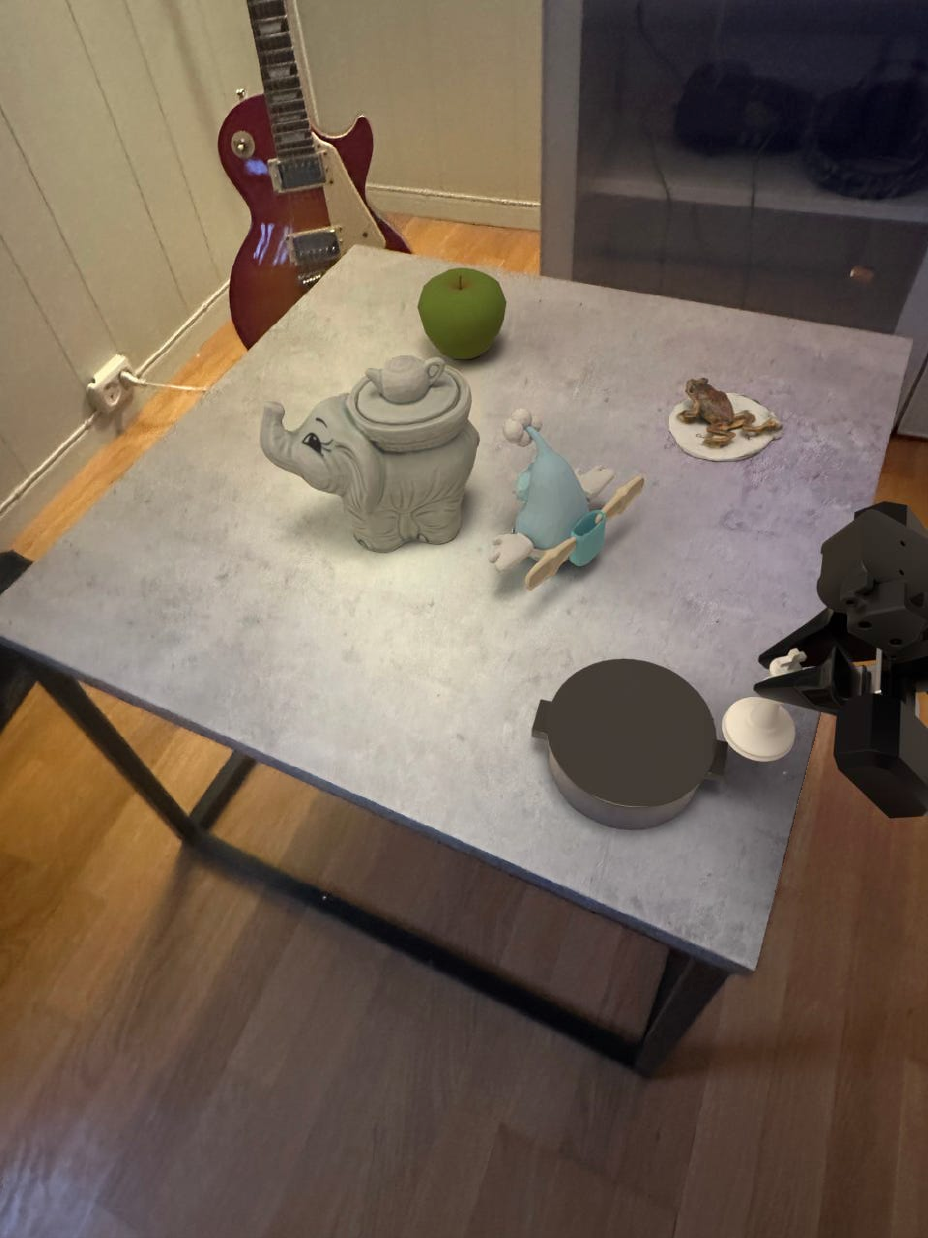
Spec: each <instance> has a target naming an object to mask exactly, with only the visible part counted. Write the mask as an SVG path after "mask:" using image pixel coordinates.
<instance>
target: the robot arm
mask: <svg viewBox="0 0 928 1238" xmlns="http://www.w3.org/2000/svg"><path fill="white" fill-rule="evenodd" d="M820 554H821V555H822V557H821V565H820V574H819V577H818V579H817V580H816V587H815V588H816V594H817V596H818V598H819V600H820V601H821V603H822V604H823V605H824V606H825V608H824V609H823V610H821V611H820V612H819V613H818V614H816V615H815V616H813V617H812V618H811V619H810V620H809V621H807V622H806V623H805V624H803V625H802V626H800V627H798V628H797V629H796V630H793V631H792V632H791V633H790V634H788V635H787V636H784V637H783V638H782V639H781V640H779V641H778V642H777V643H775V644H774V645H772V646H771V647H769V648H767V649H766V650H765V651H763V652H761V653H760V654H759V655H758V657H757V662H758V663H759V664H760V665H761V667H763V668H764V669H766V670H770V664H771V662H772V661H773V660H775V659H776V658H779V657H785V656H788V654H789V651H790V650H792V649H795V648H797V649H798V651H799V652H802V651H803V652H804V653H805V655H806V656H807V658H806V659H805V661H802V662H798V663H799V664H800V665H801V666H802V668H803V670H799V671H795V672H791V673H787V674H783V675H779V676H775V677H772V678H769V679H766V680H764V679H762V680H761V681H759V682H756V683H754V684H753V687H752V689H753V691H754V692H755V693H756V694H757V695H758V696H759V697H760V698H765V699H769V700H773V701H778V702H782V703H786V705H791V706H795V707H799V708H803V709H807V710H812V711H815V712H819V713H822V714H823V713H824V714H827V715H830V716H833V717H836V719H835V729H834V740H833V751H832V756H833V758H834V761H835V763H836V767H837V770H838V771H839V772H840V773H841V774H842V775H843V776H844V777H845V778H846V779H847V780H849V781H850V782H851V783H852V784H853V785H854V786H855V787H856V789H858V790H859V791H860V792H861V793H862V794H863V796H864V795H865V797H866V798H867V799H868V800H869V801H871V803H873V804H874V805H875V806H876V807H877V808H878V809H879V810H880V811H881V812H882V814H884V815H885V816H886V817H887V818H888V819H891V820H893V819H907V818H922V817H924V816H926V815H928V727H927V726H926V725H925V724H924V723H923V722H922V720H921V719H920V717H921V705H920V704H921V703H920V698H919V697H918V694H920V693H921V694H923V693H925V694H926V695H927V696H928V530H927V528H926V527H925V526H924V524H923V523H922V522H921V520H920V519H919V518H918V517H917V515H916V514H915V512H914V511H913V510H912V508H910V507H909V505H908V504H904V503H899V502H894V501H893V502H892V501H887V500H883V501H880V502H878V503H875V504H872V505H870V506H866V507H864V508H862V509H859V510H856V511H854V512H853V520H851V522H848V524H846V525H845V526H844V527H842V528H841V529H839V530H838V531H836V533H834V534H833V535H831V536H830V537H829V538H827V539H826V540H825V541H823V542H822V544H821V546H820ZM873 661H875V663H872V664H868V665H865V664H860V665H855V663H863V662H873Z"/></svg>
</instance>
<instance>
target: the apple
mask: <svg viewBox="0 0 928 1238" xmlns="http://www.w3.org/2000/svg"><path fill="white" fill-rule="evenodd" d="M418 299H419V300H418V303H417V306H416V307H417V311H418V314H419V317H420V321H421V323H422V327H423V329H424V333H425V335H426V336H427V337H428V339H429V340H430V341H431V342H432V345H434V347H435V348H436V349H437V350H438V351H439V352H440V354H441V355H443V356H446V357H449V358H451V359H459V360H472V359H476V358H477V357H479V356H481V355H482V354H484V353H486V352H487V351H488V350H489V349H490V348H491V347H492V345H493V343H494V342H495V339H496V338H497V336H498V334H499V332H500V330H501V328H502V325H503V323H504V321H505V317H506V315H505V314H506V309H507V299H506V297H505V294H504V292H503V289H502V286H501V284H500V282H499V281H498V280H497V279H495V278H494V277H493V276H491V275H490V274H487V273H485V272H484V271H481V270H478V269H475V268H469V267H455V268H449V269H448V270H445V271H443V272H441V273H440V274H439V273H438V274H437V275H435V276H432V277H431V278H430V280H428V281H427V282H426V283H425V284H424V285H423V287H422V290H421V292H420V295H419V298H418Z"/></svg>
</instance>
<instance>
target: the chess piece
mask: <svg viewBox="0 0 928 1238" xmlns="http://www.w3.org/2000/svg"><path fill="white" fill-rule="evenodd" d="M806 658H807V656H806V655H805V653H804V652H803V651H802V652H799V651H798V649H797V648H795V649H792V650H790V651H789V654H788V656H785V657H779V658H776V659H775V660H773V661H772V662H771V664H770V669H769V676H767V677H765V678H764V679H763V680H766V679H769V678H772V677H775V676H779V675H783V674H787V673H791V672H795V671H799V670H804V668H802V666H801V665H800V664H799V663H798V662H802V661H805V659H806ZM785 704H786V703H782V702H778V701H773V700H769V699H765V698H762V697H760V696H759V697H757V696H750V697H744V698H741V699H738V700H737V701H735V702H733V704H732V705H730V706H729V708H728V709H727V710H726V712H725V713H724V715H723V717H722V721H721V727H722V729H721V730H722V734H723V736H724V740H725V741H727V742H728V746H730V748H732V749H733V751H735V752H736V753H737V754H739V755H740V756H742V757H744V758H746V759H748V760H752V761H755V762H763V763H764V762H765V763H766V762H773V761H777V760H780V759H781V758H784V757H785V756H786V755H787V754H788V753H789V752H790V751H791V750H792V748H793V745H794V743H795V738H796V727H795V723H794V721H793V718H792V717H791V715H790V714H789V712H788V711H787V710H786V709H785V708H784V707H783V706H782V705H785ZM786 705H787V704H786Z"/></svg>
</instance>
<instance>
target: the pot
mask: <svg viewBox="0 0 928 1238" xmlns="http://www.w3.org/2000/svg"><path fill="white" fill-rule="evenodd" d="M530 731H531V733H530V734H531V738H535V739H539V740H542V741H547V745H548V761H549V768H550V772H551V777H552V778H553V781H554V783H555V785H556V787H557V789H558V790H559V792H560V793H561V795H562V796H563V797H564V799H565V801H567V802H568V803H569V805H571V806H572V807H573V808H574V809H575V811H578V812H579V813H580V814H582V815H583V816H585V817H586V818H588V819H590V820H591V821H593V822H596V823H598V824H600V825H602V826H603V825H604V826H606V827H610V828H614V829H615V828H616V829H620V830H643V829H649V828H653V827H656V826H659V825H662V824H664V823H666V822H668V821H670V820H671V819H673V818H674V817H676V816H677V815H679V814H680V813H681V812H682V811H683V810H684V809H685V808H686V807H687V806H688V805H689V803H690V802H691V801H692V799H693V797H694V796H695V793H696V791H697V789H698V787H699V786H700V785H701V784H702V782H703V781H704V780H705V779H706V780H710V781H715V782H719V783H722V782H723V781H724V779H725V777H726V769H727V759H728V752H729V751H728V750H729V744H728V742H727V740H723V739H718V737H717V729H716V724H715V721H714V717H713V714H712V712H711V710H710V708H709V706H708V704H707V703H706V701H705V699H704V698H703V696H702V695H701V694H700V693H699V691H698V690H697V689H696V688H695V687H694V686H693V685H692V684H691V683H689V682H688V681H687V680H686V679H685V678H683V677H682V676H681V675H679V674H678V673H676V672H675V671H672V670H670V669H669V668H667V667H665V666H662V665H659V664H658V663H654V662H650V661H647V660H641V659H637V658H636V659H635V658H612V659H606V660H601V661H598V662H594V663H592V664H589V665H587V666H584V667H582V668H581V669H579V670H578V671H576V672H575V673H573V674H571V676H570V677H568V678H567V679H566V680H565V681H564V682H563V683H562V684H561V685H560V687H559V688H558V689H557V691H556V692H555V694H554V695H553V697H552V699H551V700H547V699H542V698H540V699H539V702H538V705H537V710H536V713H535V717H534V720H533V723H532V727H531V730H530Z"/></svg>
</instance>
